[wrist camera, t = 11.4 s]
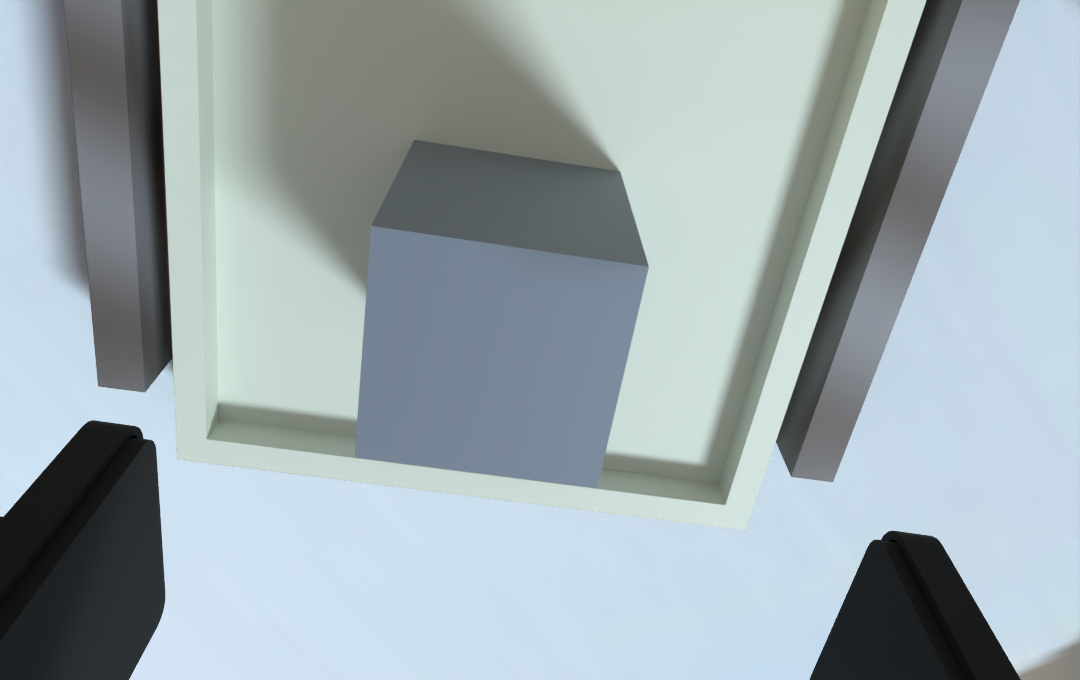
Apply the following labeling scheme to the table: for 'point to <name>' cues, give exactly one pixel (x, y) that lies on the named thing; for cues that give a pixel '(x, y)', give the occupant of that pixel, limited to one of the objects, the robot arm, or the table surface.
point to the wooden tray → (529, 131)
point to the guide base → (848, 309)
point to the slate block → (498, 315)
